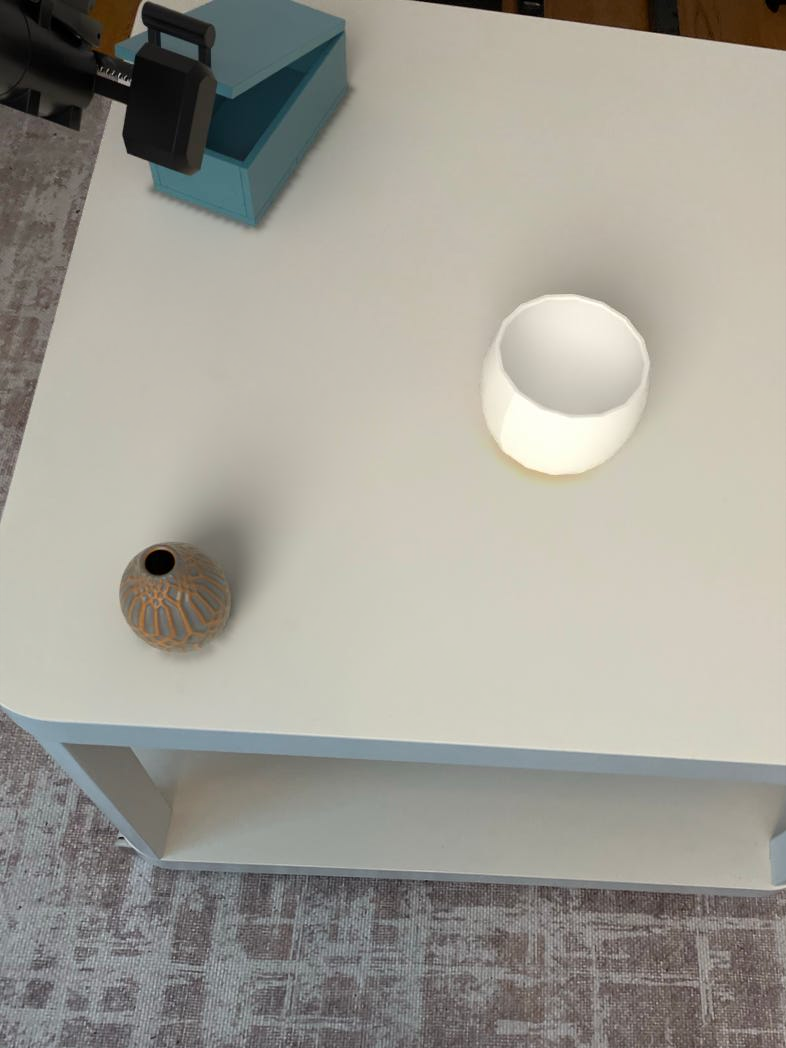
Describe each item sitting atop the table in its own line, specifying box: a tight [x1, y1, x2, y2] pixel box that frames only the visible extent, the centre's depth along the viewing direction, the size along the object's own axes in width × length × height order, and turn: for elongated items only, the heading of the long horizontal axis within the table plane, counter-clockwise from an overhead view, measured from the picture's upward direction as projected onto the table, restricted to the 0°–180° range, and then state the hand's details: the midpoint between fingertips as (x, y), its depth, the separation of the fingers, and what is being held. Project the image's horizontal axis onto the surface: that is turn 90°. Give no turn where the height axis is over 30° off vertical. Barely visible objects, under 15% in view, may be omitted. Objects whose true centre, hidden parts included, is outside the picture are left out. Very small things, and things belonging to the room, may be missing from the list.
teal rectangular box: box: [147, 29, 348, 227], centre depth 79 cm, size 19×9×6 cm, turn 159°
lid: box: [114, 0, 347, 99], centre depth 72 cm, size 21×9×4 cm, turn 159°
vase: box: [118, 541, 232, 654], centre depth 59 cm, size 7×7×9 cm
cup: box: [478, 293, 652, 476], centre depth 68 cm, size 12×12×10 cm
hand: (132, 103), depth 63 cm, fingers open, 9 cm apart
